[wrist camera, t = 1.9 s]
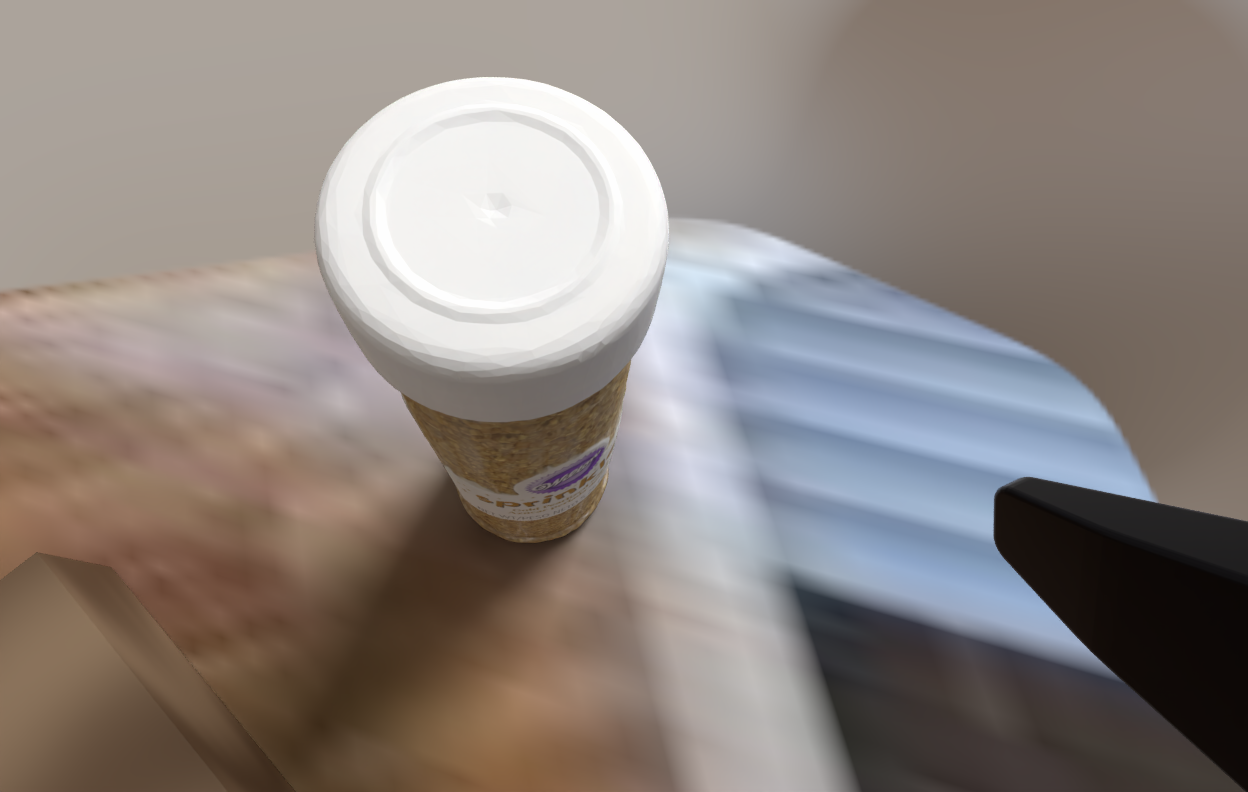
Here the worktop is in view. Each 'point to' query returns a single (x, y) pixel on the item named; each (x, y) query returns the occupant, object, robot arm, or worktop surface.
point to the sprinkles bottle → (500, 285)
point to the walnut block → (108, 694)
